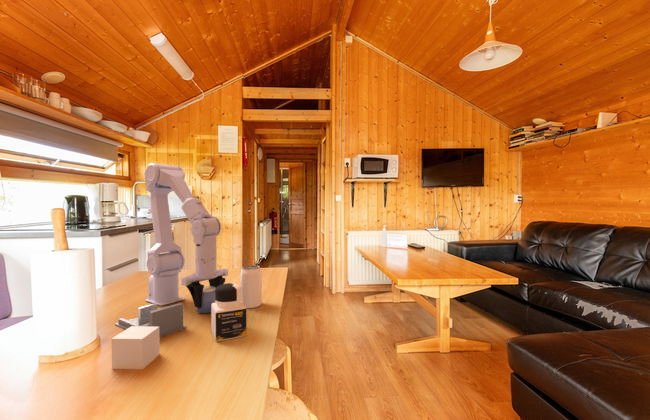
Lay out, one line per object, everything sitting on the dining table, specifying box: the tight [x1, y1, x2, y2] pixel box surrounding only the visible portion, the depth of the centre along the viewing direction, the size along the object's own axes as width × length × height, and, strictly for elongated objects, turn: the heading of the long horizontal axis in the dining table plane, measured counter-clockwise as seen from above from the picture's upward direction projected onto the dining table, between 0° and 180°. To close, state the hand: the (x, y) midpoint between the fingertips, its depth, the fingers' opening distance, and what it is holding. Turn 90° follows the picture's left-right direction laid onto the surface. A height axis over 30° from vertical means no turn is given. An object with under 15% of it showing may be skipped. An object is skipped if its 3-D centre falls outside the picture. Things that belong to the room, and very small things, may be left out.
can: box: [239, 264, 263, 310], centre depth 98 cm, size 6×6×12 cm
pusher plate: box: [137, 303, 159, 326], centre depth 81 cm, size 1×4×4 cm, turn 147°
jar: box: [196, 285, 216, 314], centre depth 92 cm, size 5×5×6 cm
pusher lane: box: [114, 302, 187, 339], centre depth 81 cm, size 17×9×6 cm, turn 57°
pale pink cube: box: [111, 326, 161, 370], centre depth 63 cm, size 6×6×6 cm
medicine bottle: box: [210, 282, 248, 343], centre depth 76 cm, size 7×7×12 cm
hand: (206, 304), depth 92 cm, fingers closed on jar, 5 cm apart
